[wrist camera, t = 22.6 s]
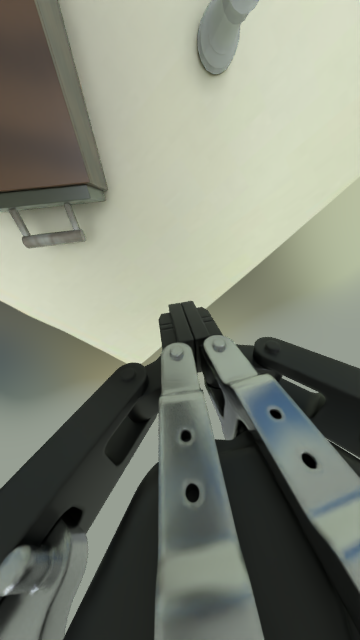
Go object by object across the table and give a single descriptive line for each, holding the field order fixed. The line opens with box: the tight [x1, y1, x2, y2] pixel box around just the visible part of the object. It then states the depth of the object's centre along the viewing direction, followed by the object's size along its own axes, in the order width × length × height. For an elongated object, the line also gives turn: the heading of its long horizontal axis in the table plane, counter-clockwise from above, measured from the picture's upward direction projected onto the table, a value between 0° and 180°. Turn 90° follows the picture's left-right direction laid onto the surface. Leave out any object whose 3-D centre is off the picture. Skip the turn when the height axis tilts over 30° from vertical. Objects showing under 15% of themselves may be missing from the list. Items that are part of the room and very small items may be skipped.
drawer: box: [0, 184, 105, 248], centre depth 17 cm, size 19×13×8 cm
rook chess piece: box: [198, 0, 259, 74], centre depth 16 cm, size 4×4×8 cm
